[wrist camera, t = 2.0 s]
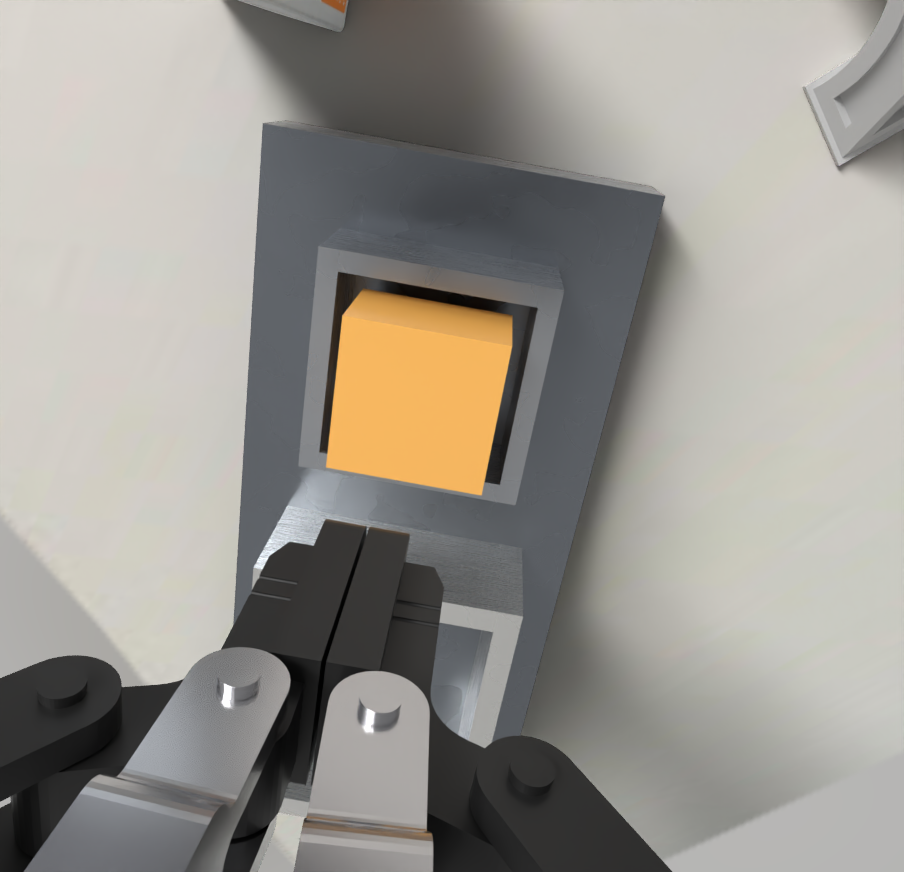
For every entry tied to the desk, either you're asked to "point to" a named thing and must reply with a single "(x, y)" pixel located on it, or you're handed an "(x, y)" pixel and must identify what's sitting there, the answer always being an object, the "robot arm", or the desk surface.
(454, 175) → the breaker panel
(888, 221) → the desk surface
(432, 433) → the button
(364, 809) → the robot arm
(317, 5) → the skincare box
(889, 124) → the eiffel tower
